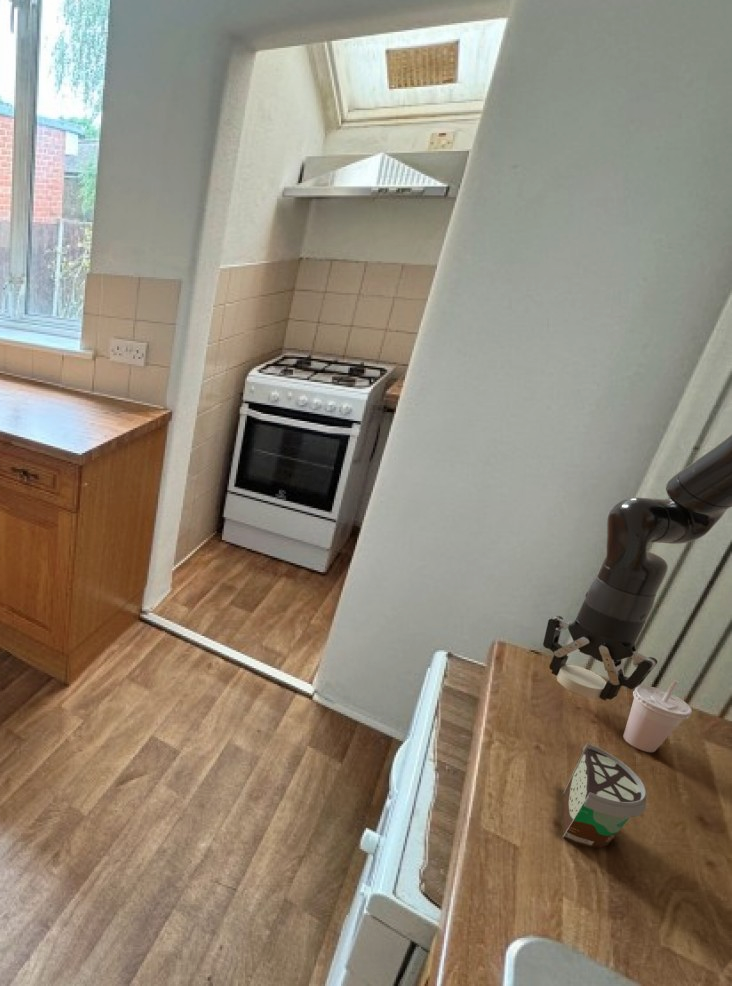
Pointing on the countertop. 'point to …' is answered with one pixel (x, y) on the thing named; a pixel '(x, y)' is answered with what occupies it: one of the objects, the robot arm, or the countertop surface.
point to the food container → (600, 798)
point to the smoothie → (654, 716)
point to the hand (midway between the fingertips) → (579, 684)
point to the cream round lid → (581, 681)
